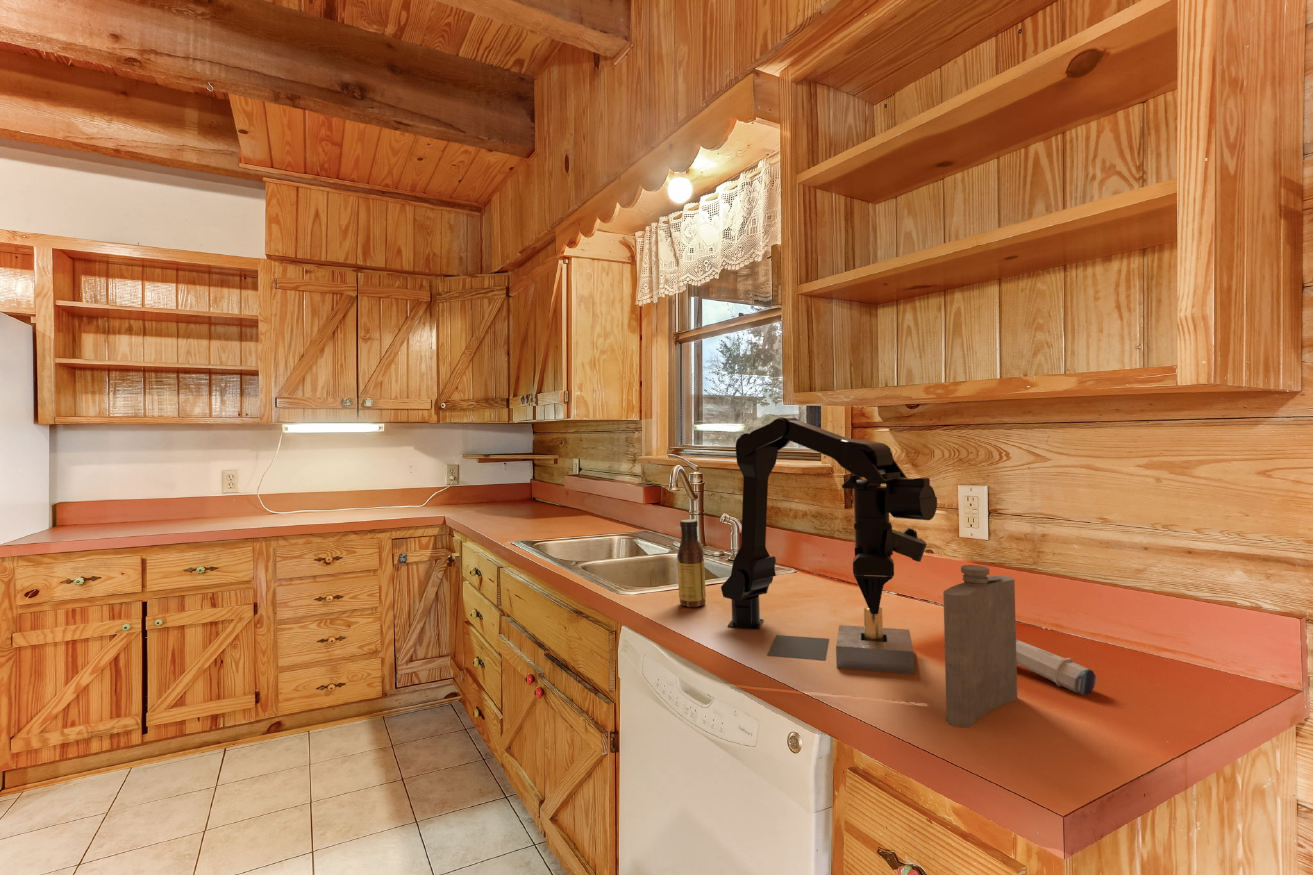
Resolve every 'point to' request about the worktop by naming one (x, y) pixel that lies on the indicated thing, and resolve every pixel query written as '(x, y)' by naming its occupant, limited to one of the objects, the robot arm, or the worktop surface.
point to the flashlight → (1055, 668)
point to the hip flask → (979, 645)
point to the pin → (873, 625)
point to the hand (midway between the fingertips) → (874, 606)
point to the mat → (799, 647)
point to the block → (875, 650)
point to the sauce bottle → (691, 566)
